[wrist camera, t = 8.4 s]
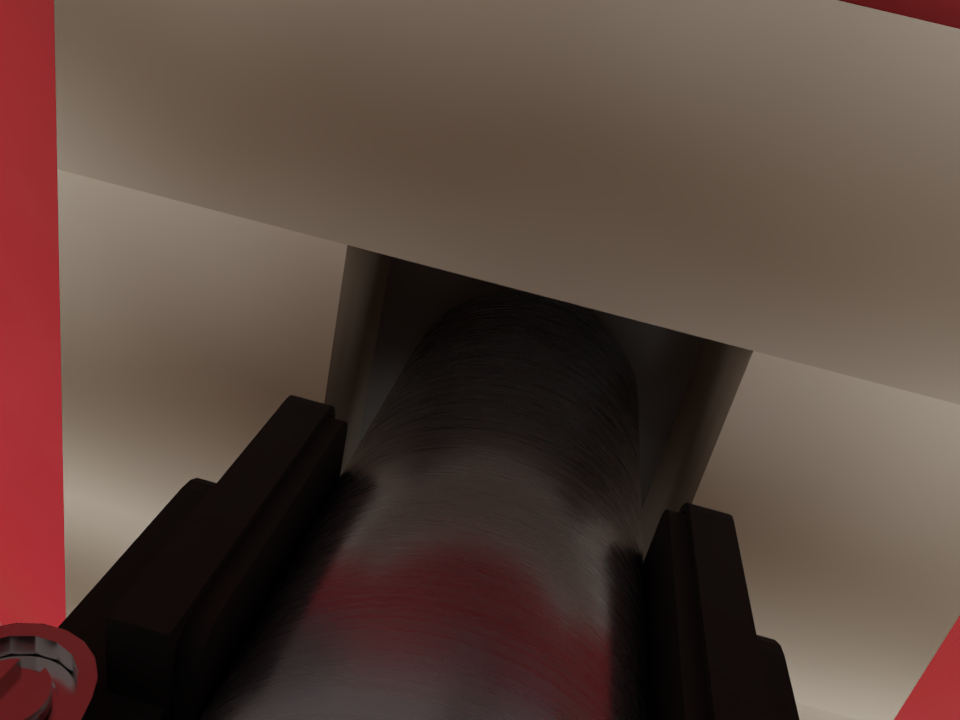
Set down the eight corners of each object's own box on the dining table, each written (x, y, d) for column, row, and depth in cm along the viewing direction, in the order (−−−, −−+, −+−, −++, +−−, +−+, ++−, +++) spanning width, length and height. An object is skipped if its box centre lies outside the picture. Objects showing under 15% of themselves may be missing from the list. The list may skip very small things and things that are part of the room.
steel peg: (428, 263, 13) (-456, 1504, 2) (670, 327, 13) (883, 1994, 2) (389, 465, 15) (-223, 1702, 4) (601, 523, 15) (533, 1995, 4)
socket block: (209, -137, 13) (50, -186, 9) (1089, 70, 12) (1281, 104, 9) (171, 542, 19) (67, 670, 16) (757, 709, 18) (789, 884, 15)
